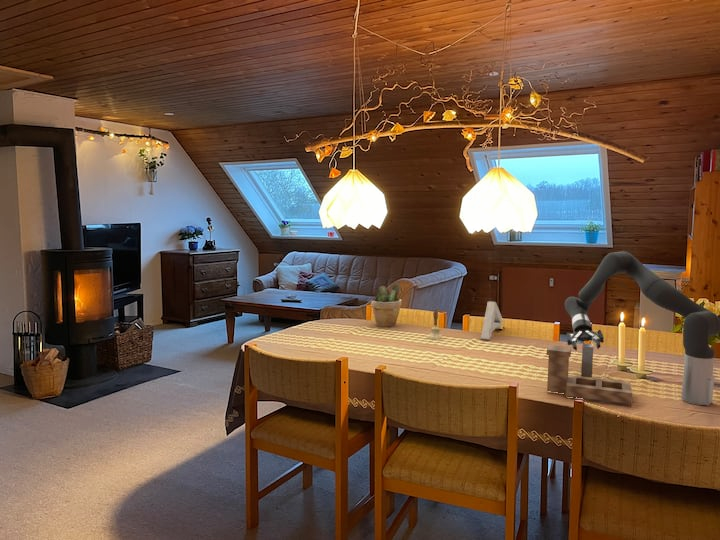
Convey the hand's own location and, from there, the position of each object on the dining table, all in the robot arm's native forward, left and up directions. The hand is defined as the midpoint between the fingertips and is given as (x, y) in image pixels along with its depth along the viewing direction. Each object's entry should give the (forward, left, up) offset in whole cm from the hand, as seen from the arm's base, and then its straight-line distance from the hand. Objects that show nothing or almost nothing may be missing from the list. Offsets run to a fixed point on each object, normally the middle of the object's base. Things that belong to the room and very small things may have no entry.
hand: (587, 347), depth 228 cm
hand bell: (+88, -18, -14) cm, 91 cm away
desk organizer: (-8, +19, -13) cm, 24 cm away
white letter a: (+71, -48, -14) cm, 87 cm away
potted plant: (+128, -23, -14) cm, 131 cm away
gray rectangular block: (-3, +6, -13) cm, 15 cm away
